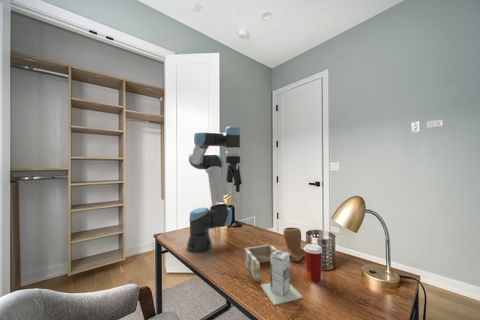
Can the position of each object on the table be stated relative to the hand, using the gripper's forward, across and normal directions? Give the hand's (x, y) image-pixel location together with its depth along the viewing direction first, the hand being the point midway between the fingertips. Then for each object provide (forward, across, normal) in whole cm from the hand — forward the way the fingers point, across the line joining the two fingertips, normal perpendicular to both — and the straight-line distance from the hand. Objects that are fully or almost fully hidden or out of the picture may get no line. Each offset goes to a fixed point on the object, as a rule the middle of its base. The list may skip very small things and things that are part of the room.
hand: (233, 196), depth 104 cm
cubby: (+34, +13, +12) cm, 38 cm away
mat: (+34, +30, +10) cm, 46 cm away
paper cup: (+34, +27, +28) cm, 52 cm away
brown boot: (+34, +5, +33) cm, 48 cm away
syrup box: (+33, +30, +10) cm, 46 cm away
